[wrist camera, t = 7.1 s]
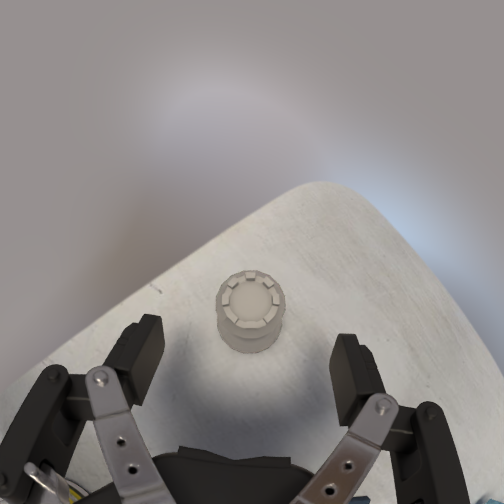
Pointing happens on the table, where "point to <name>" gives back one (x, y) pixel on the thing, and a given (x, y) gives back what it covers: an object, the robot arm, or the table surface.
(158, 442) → the table surface
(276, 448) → the table surface
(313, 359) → the table surface
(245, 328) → the rook chess piece
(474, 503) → the table surface
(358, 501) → the rectangular board
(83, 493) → the pill bottle
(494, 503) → the teapot
